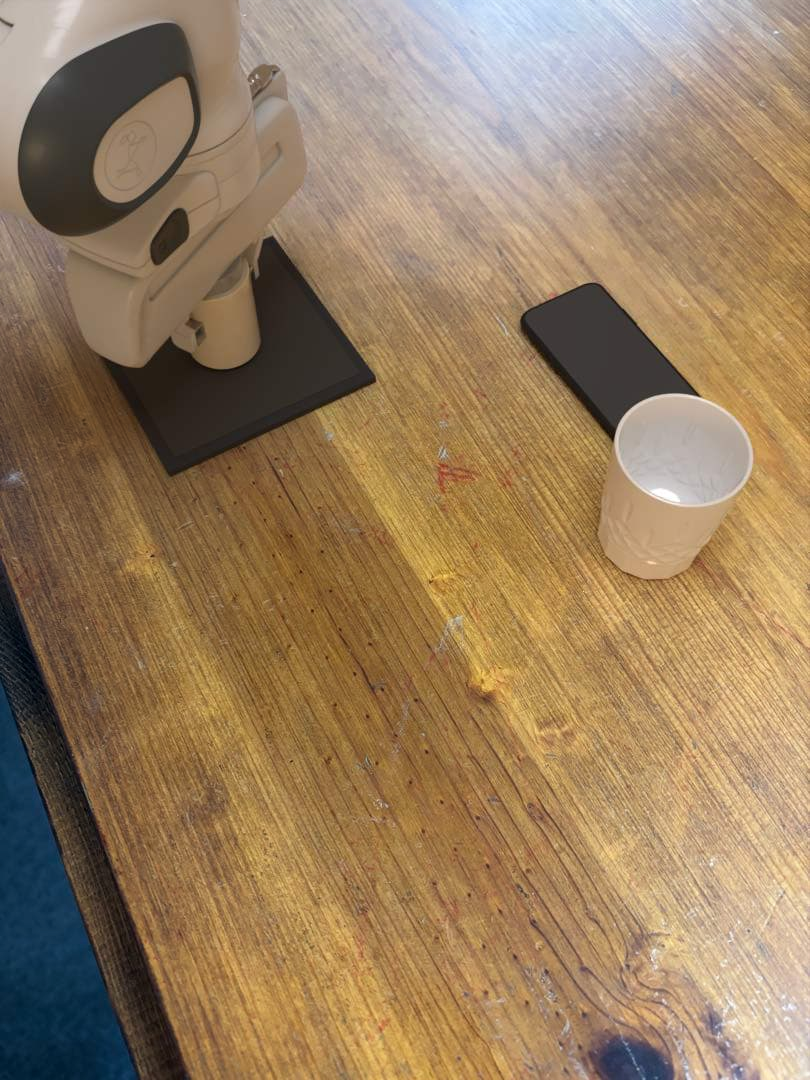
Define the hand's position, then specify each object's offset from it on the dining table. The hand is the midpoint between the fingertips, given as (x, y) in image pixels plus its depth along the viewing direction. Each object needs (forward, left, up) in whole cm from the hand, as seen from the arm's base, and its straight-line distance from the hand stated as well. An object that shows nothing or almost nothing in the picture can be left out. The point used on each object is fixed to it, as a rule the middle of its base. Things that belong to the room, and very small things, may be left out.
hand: (217, 311), depth 73 cm
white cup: (+17, -28, -4) cm, 33 cm away
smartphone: (+23, -16, -4) cm, 28 cm away
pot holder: (0, 0, -4) cm, 4 cm away
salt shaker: (0, 0, -3) cm, 3 cm away
